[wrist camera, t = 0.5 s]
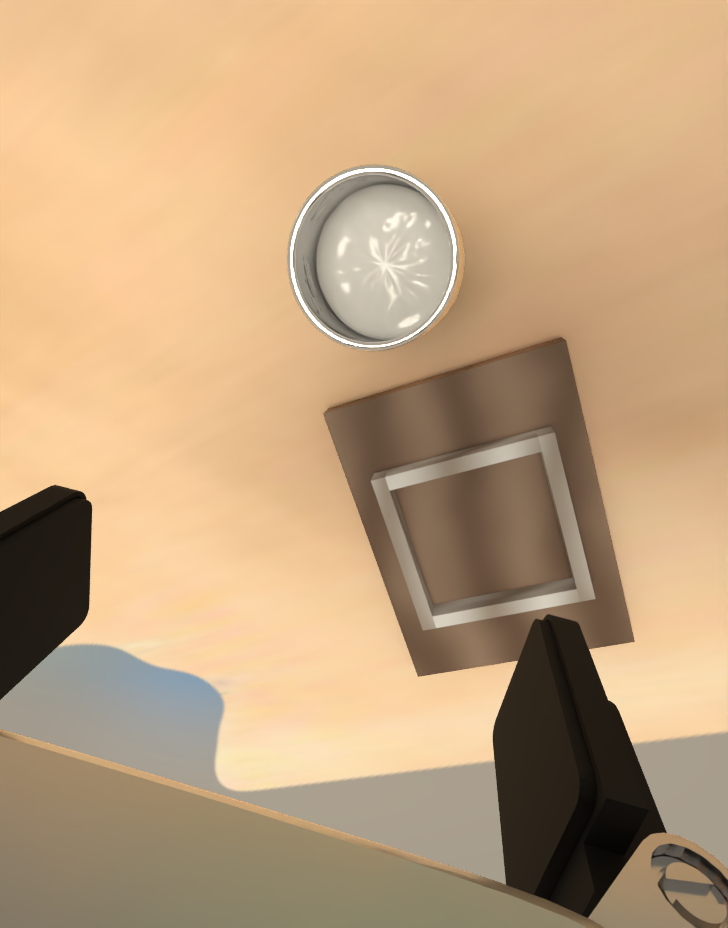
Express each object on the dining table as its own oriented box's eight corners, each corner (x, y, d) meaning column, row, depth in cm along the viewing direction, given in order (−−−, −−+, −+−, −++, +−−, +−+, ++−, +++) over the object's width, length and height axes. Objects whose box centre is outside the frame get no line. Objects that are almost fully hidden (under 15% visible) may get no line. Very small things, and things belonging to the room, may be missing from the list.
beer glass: (391, 347, 36) (348, 390, 22) (332, 255, 34) (245, 238, 20) (483, 284, 34) (502, 287, 20) (423, 184, 32) (396, 110, 18)
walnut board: (561, 337, 34) (570, 342, 31) (628, 628, 39) (641, 655, 37) (328, 408, 38) (317, 419, 35) (419, 663, 43) (416, 690, 41)
